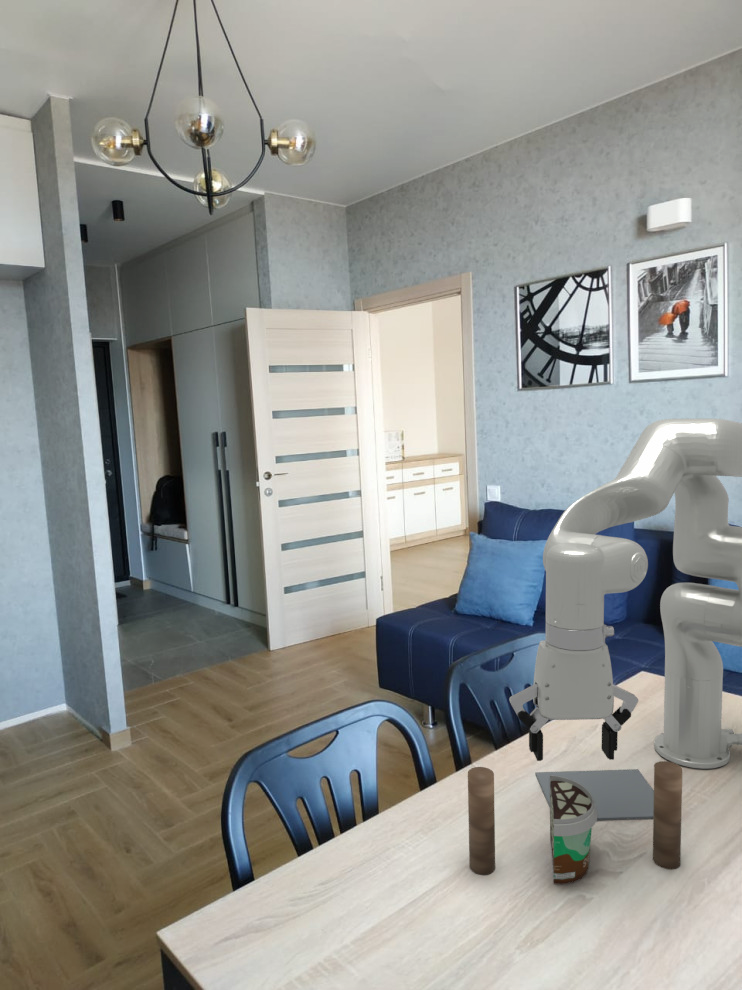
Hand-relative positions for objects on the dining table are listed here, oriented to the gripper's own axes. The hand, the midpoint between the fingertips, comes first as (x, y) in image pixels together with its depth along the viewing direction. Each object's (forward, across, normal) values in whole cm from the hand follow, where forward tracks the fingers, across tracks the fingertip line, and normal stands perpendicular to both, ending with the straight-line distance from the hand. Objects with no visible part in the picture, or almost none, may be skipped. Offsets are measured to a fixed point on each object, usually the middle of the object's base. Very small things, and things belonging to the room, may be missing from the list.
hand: (572, 755), depth 96 cm
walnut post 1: (+17, +12, -1) cm, 21 cm away
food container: (+17, -1, -1) cm, 17 cm away
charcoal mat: (+16, -10, -18) cm, 26 cm away
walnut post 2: (+16, -14, -1) cm, 21 cm away
